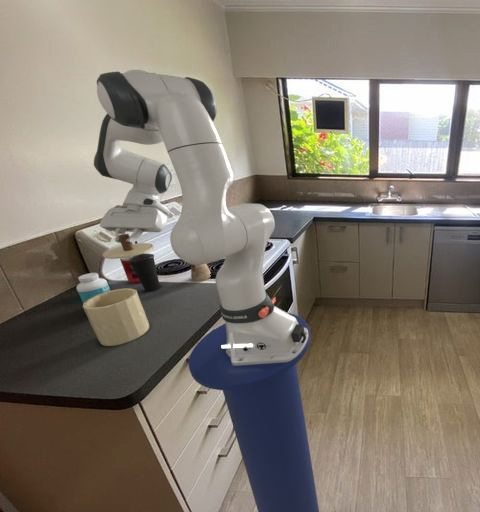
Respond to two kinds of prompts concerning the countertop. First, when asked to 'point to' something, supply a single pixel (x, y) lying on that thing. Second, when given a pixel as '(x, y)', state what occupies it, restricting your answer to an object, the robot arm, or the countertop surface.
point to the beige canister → (116, 316)
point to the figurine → (200, 272)
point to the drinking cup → (146, 271)
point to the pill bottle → (91, 286)
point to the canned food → (129, 270)
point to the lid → (127, 249)
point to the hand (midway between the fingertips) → (124, 242)
